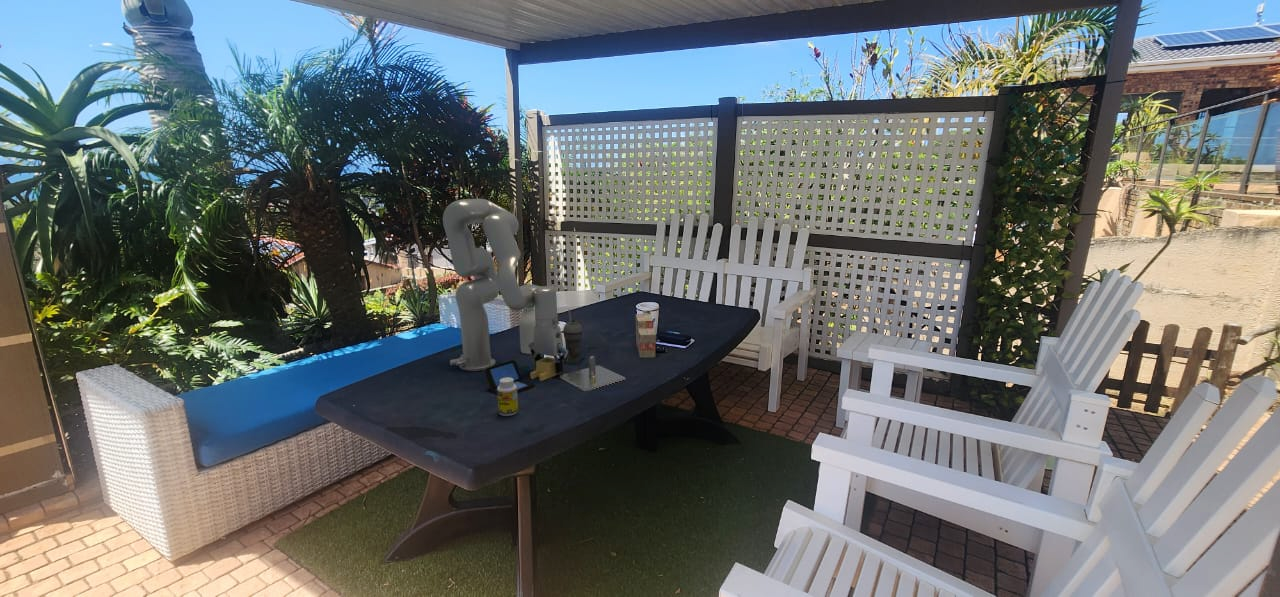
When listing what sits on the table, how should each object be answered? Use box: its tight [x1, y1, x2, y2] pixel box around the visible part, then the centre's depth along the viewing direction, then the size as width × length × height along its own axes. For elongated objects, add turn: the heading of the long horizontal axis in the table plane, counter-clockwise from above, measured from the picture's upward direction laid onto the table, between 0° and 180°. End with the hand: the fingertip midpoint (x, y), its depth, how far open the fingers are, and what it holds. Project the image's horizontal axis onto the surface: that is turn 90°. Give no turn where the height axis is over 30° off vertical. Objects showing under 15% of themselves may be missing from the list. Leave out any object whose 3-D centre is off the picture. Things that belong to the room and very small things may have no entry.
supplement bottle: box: [496, 377, 519, 417], centre depth 154 cm, size 6×6×10 cm
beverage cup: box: [562, 309, 583, 364], centre depth 197 cm, size 7×7×20 cm
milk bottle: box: [519, 305, 536, 355], centre depth 209 cm, size 8×8×20 cm
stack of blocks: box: [635, 313, 657, 358], centre depth 212 cm, size 21×6×12 cm, turn 4°
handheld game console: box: [484, 359, 536, 395], centre depth 173 cm, size 12×11×7 cm
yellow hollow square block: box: [529, 356, 560, 382], centre depth 184 cm, size 10×6×5 cm, turn 149°
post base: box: [559, 355, 626, 393], centre depth 180 cm, size 16×16×8 cm
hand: (549, 370), depth 186 cm, fingers open, 8 cm apart
